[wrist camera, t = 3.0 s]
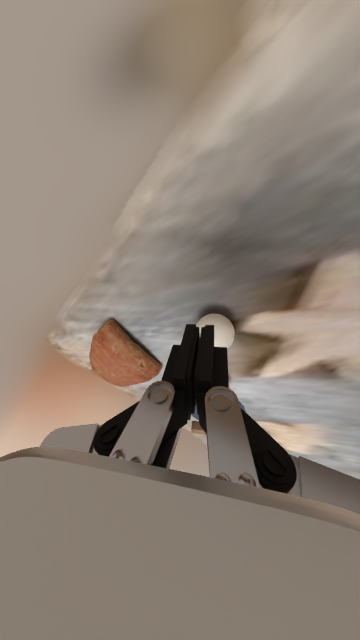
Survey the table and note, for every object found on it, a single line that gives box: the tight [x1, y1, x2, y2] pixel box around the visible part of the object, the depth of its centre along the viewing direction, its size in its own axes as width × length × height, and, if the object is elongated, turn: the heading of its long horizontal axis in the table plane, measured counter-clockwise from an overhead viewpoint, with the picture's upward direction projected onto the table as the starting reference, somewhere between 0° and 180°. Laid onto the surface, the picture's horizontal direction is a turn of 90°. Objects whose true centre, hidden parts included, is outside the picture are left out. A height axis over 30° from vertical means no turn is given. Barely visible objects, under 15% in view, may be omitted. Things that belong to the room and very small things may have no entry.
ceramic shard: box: [90, 319, 162, 387], centre depth 38 cm, size 15×6×15 cm
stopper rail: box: [191, 421, 207, 435], centre depth 47 cm, size 12×2×2 cm, turn 96°
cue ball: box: [196, 314, 235, 349], centre depth 27 cm, size 6×6×6 cm
